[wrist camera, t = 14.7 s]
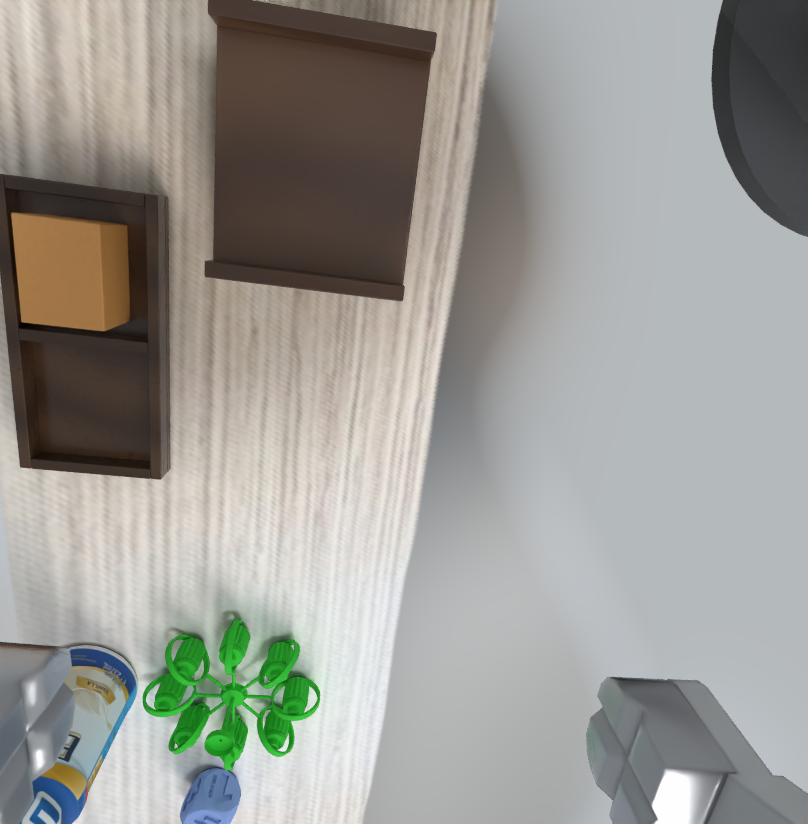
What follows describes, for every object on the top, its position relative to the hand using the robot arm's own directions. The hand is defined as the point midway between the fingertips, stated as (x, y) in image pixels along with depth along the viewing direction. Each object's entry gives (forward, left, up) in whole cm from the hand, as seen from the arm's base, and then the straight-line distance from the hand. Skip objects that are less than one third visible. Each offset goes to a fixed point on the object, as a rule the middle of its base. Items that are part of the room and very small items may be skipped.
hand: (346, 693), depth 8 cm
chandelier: (+32, +12, -33) cm, 48 cm away
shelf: (+13, -14, -33) cm, 38 cm away
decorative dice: (+44, +18, -33) cm, 58 cm away
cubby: (-6, -8, -33) cm, 35 cm away
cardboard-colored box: (+9, -17, -32) cm, 38 cm away
